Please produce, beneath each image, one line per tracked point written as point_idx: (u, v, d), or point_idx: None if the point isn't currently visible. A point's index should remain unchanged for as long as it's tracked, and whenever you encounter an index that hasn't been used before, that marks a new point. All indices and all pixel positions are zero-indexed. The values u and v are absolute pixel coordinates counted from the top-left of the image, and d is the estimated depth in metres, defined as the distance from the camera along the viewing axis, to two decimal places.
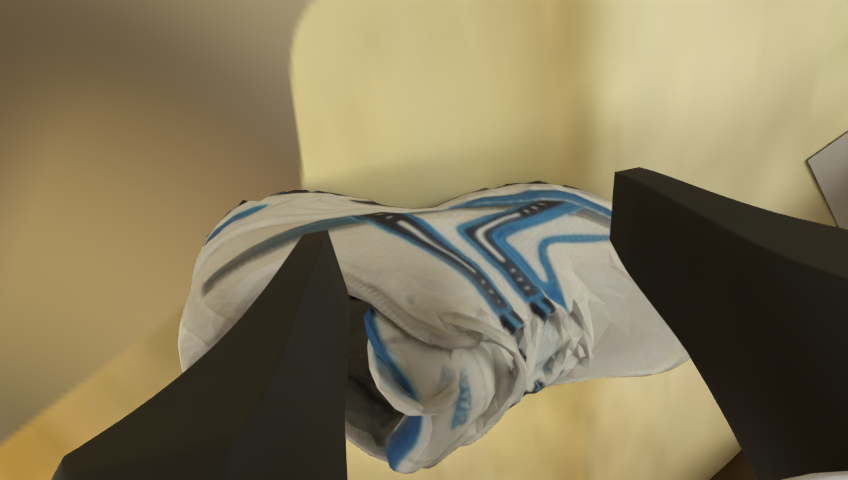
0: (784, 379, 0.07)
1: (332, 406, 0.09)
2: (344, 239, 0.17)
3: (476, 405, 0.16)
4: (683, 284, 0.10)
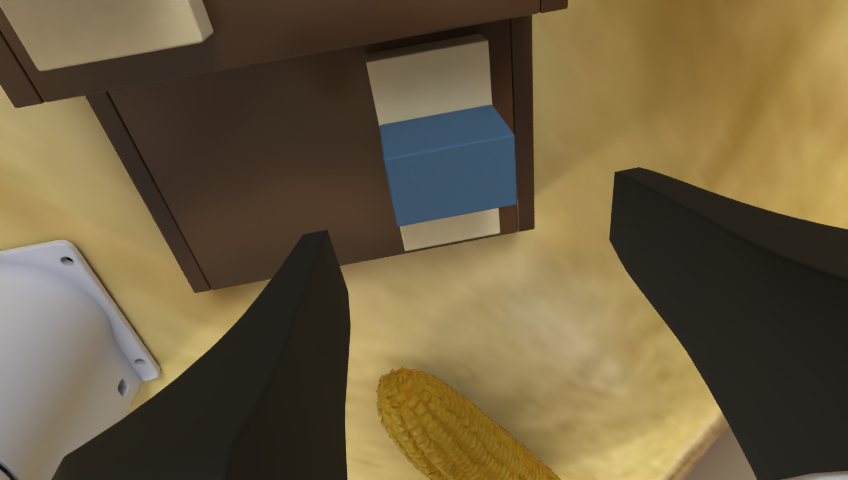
0: (784, 379, 0.07)
1: (332, 406, 0.09)
2: None
3: None
4: (683, 284, 0.10)
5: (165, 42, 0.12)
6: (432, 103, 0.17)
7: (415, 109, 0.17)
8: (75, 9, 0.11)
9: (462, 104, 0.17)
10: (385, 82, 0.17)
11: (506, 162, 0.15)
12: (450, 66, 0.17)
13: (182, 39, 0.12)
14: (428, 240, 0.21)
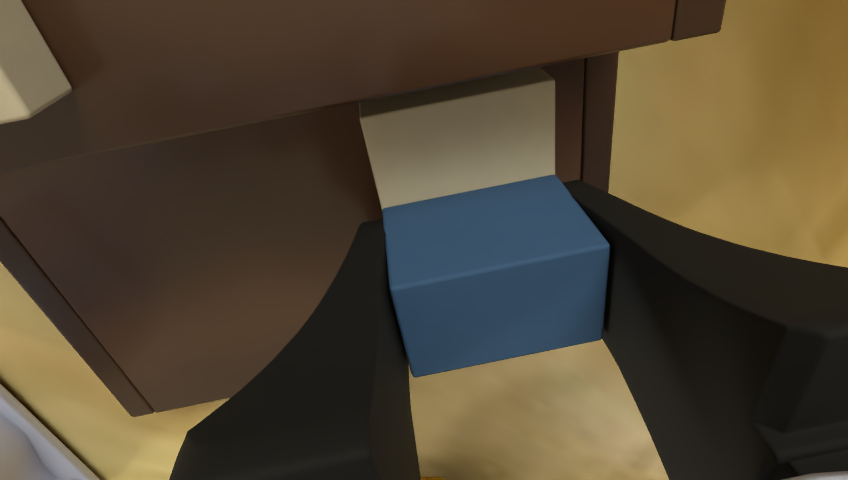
0: (690, 398, 0.07)
1: (403, 391, 0.09)
2: None
3: None
4: (611, 299, 0.10)
5: None
6: (464, 175, 0.11)
7: (437, 184, 0.11)
8: None
9: (510, 175, 0.11)
10: (391, 147, 0.10)
11: (592, 284, 0.09)
12: (493, 121, 0.10)
13: None
14: None
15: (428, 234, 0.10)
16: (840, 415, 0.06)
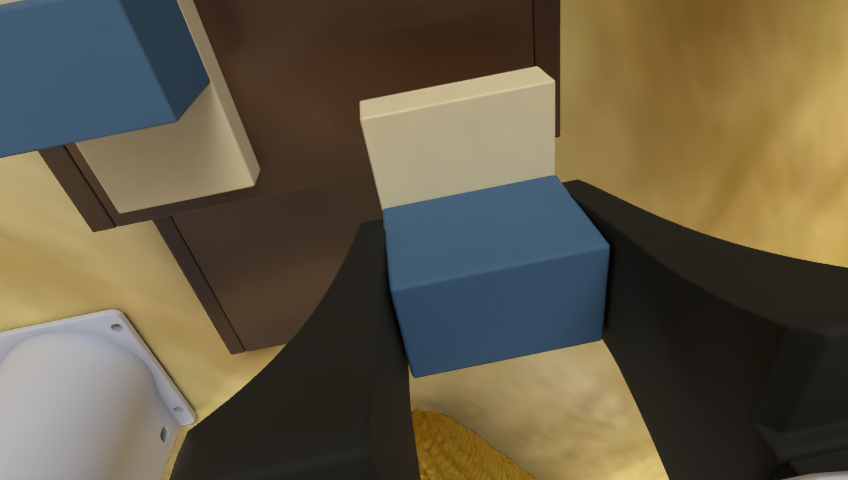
0: (690, 398, 0.07)
1: (404, 391, 0.09)
2: None
3: None
4: (611, 299, 0.10)
5: (223, 188, 0.14)
6: (464, 176, 0.11)
7: (437, 185, 0.11)
8: (152, 168, 0.14)
9: (510, 175, 0.11)
10: (391, 147, 0.10)
11: (592, 285, 0.09)
12: (493, 121, 0.10)
13: (237, 185, 0.14)
14: None
15: (428, 235, 0.10)
16: (840, 415, 0.06)
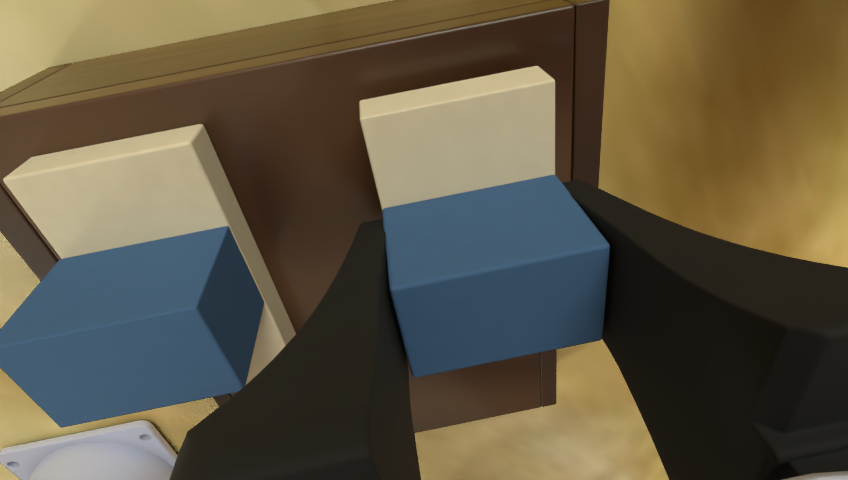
0: (690, 398, 0.07)
1: (404, 391, 0.09)
2: None
3: None
4: (611, 299, 0.10)
5: None
6: (464, 175, 0.11)
7: (437, 184, 0.11)
8: None
9: (510, 175, 0.11)
10: (391, 147, 0.10)
11: (593, 285, 0.09)
12: (494, 121, 0.10)
13: None
14: None
15: (428, 234, 0.10)
16: (839, 415, 0.06)
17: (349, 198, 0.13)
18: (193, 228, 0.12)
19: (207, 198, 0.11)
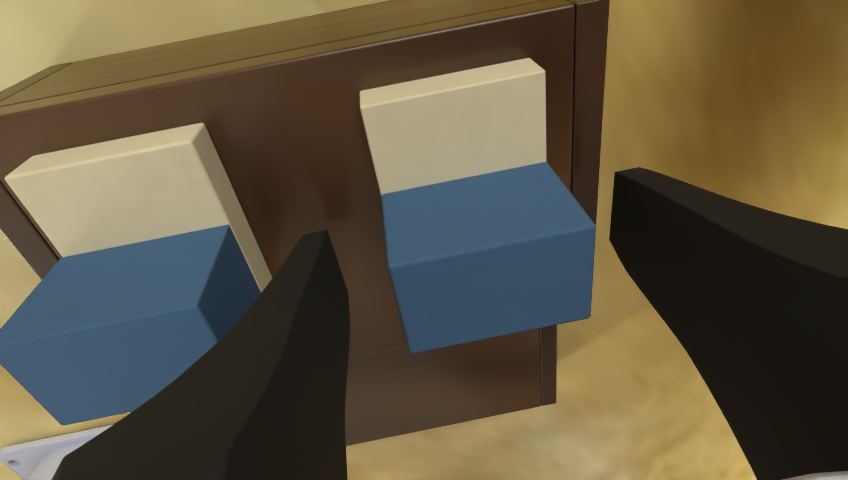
0: (784, 379, 0.07)
1: (332, 406, 0.09)
2: None
3: None
4: (683, 284, 0.10)
5: None
6: (459, 162, 0.12)
7: (434, 171, 0.12)
8: None
9: (503, 162, 0.12)
10: (389, 135, 0.11)
11: (580, 263, 0.10)
12: (487, 110, 0.11)
13: None
14: None
15: (425, 217, 0.11)
16: None
17: (349, 197, 0.13)
18: (194, 226, 0.12)
19: (208, 197, 0.11)
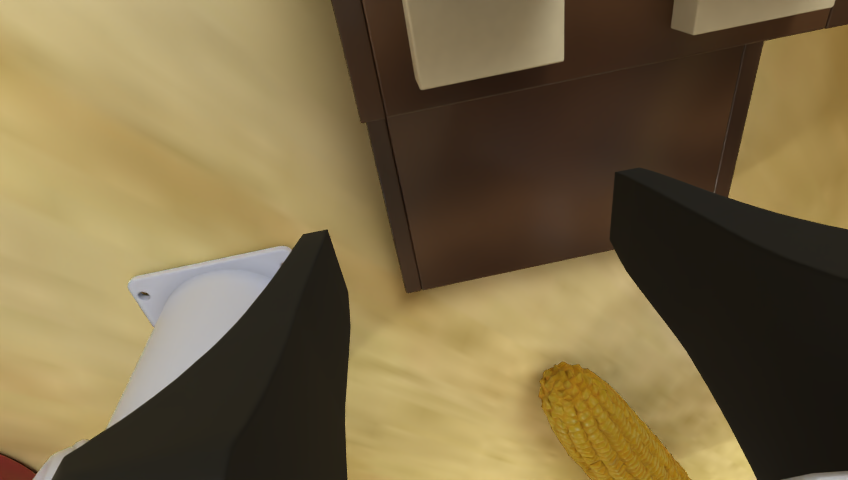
0: (784, 379, 0.07)
1: (332, 406, 0.09)
2: None
3: None
4: (683, 284, 0.10)
5: (533, 62, 0.14)
6: None
7: None
8: (471, 35, 0.13)
9: None
10: None
11: None
12: None
13: (548, 59, 0.14)
14: (732, 15, 0.14)
15: None
16: None
17: None
18: None
19: None
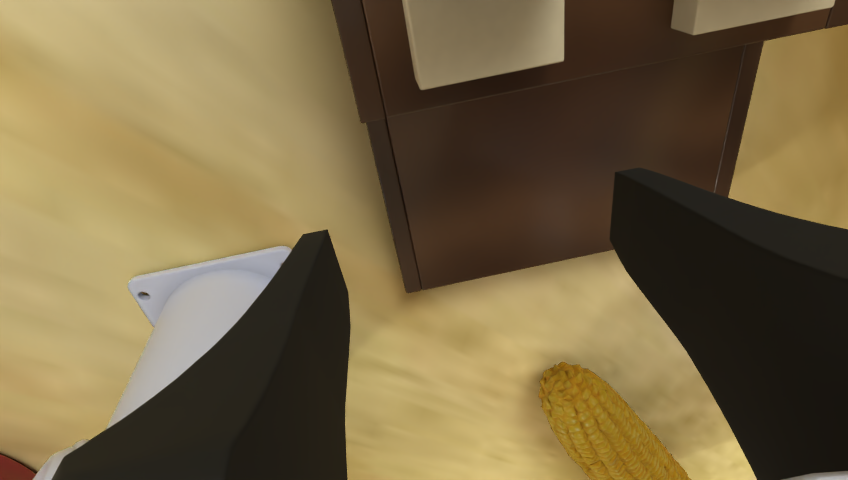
0: (784, 379, 0.07)
1: (332, 406, 0.09)
2: None
3: None
4: (683, 284, 0.10)
5: (533, 62, 0.14)
6: None
7: None
8: (471, 35, 0.13)
9: None
10: None
11: None
12: None
13: (548, 59, 0.14)
14: (732, 15, 0.14)
15: None
16: None
17: None
18: None
19: None
